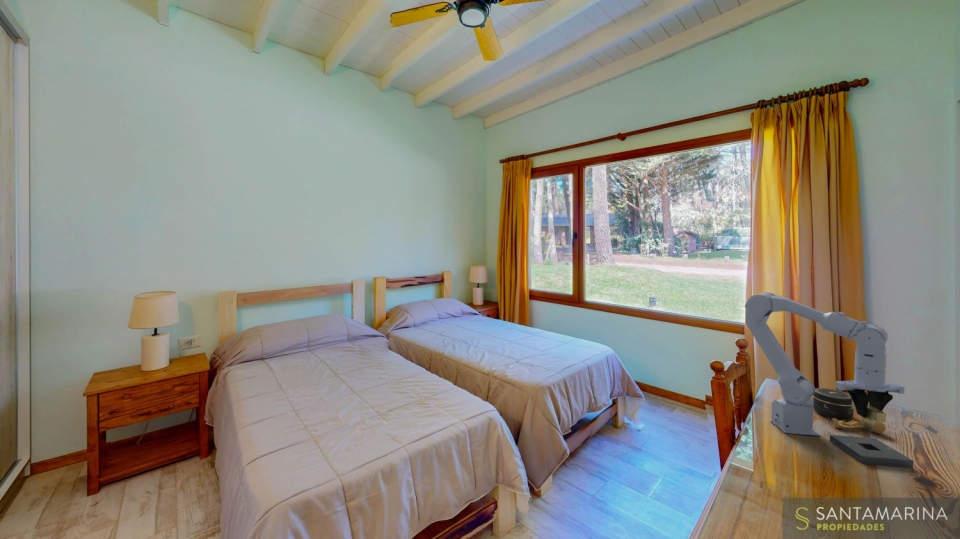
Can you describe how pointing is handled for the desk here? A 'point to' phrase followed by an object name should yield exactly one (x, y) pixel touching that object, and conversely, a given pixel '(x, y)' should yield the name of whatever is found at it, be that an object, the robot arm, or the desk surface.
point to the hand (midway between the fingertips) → (867, 416)
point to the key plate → (871, 451)
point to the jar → (833, 404)
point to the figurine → (859, 425)
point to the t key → (871, 417)
